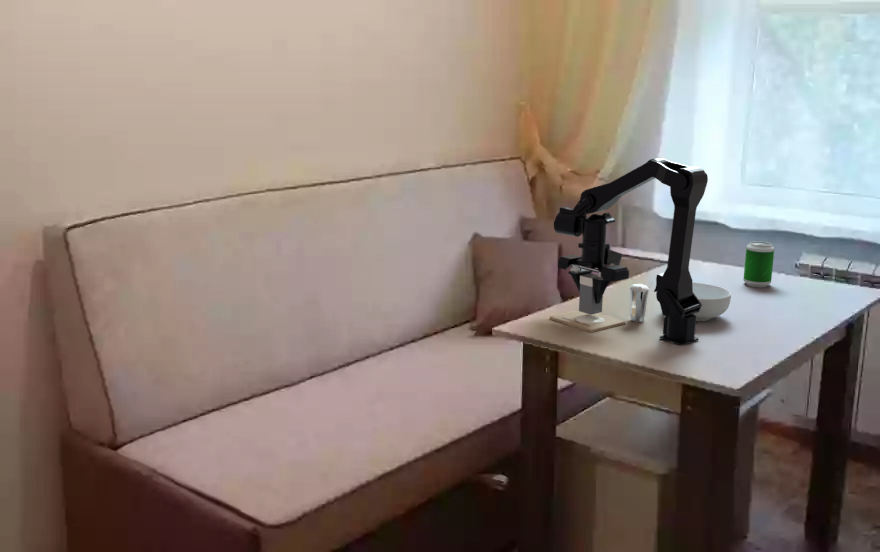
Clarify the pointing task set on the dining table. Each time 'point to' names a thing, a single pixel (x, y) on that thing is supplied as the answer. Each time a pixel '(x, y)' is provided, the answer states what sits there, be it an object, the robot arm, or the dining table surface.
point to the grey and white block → (588, 295)
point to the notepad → (587, 320)
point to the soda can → (758, 264)
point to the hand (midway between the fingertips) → (591, 301)
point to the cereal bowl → (711, 300)
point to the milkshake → (638, 302)
